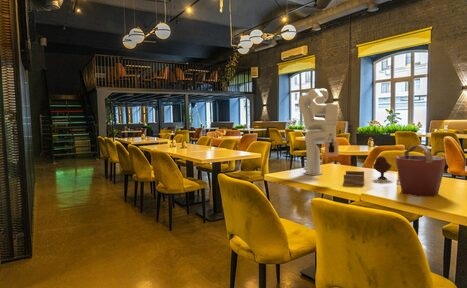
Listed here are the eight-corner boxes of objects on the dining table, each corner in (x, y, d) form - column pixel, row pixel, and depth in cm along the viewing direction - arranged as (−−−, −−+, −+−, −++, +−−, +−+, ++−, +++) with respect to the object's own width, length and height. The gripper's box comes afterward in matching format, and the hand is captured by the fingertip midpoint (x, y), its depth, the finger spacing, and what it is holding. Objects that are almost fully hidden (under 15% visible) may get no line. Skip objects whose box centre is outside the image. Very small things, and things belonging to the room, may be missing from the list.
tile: (325, 155, 208) (325, 141, 207) (338, 155, 204) (338, 141, 204) (324, 156, 205) (324, 141, 204) (338, 156, 202) (337, 141, 201)
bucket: (394, 187, 184) (394, 143, 183) (439, 189, 176) (439, 143, 174) (399, 196, 161) (399, 147, 160) (451, 199, 153) (451, 147, 152)
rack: (345, 179, 211) (345, 170, 210) (364, 180, 206) (364, 171, 206) (342, 184, 195) (342, 175, 195) (364, 185, 190) (364, 175, 190)
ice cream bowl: (392, 180, 204) (392, 156, 203) (373, 180, 208) (373, 156, 207) (390, 177, 214) (390, 155, 213) (372, 177, 218) (372, 155, 217)
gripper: (327, 123, 212) (327, 150, 213) (323, 123, 197) (323, 153, 199) (339, 122, 209) (339, 151, 210) (336, 123, 194) (336, 153, 196)
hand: (331, 151), depth 204 cm, fingers closed on tile, 3 cm apart
